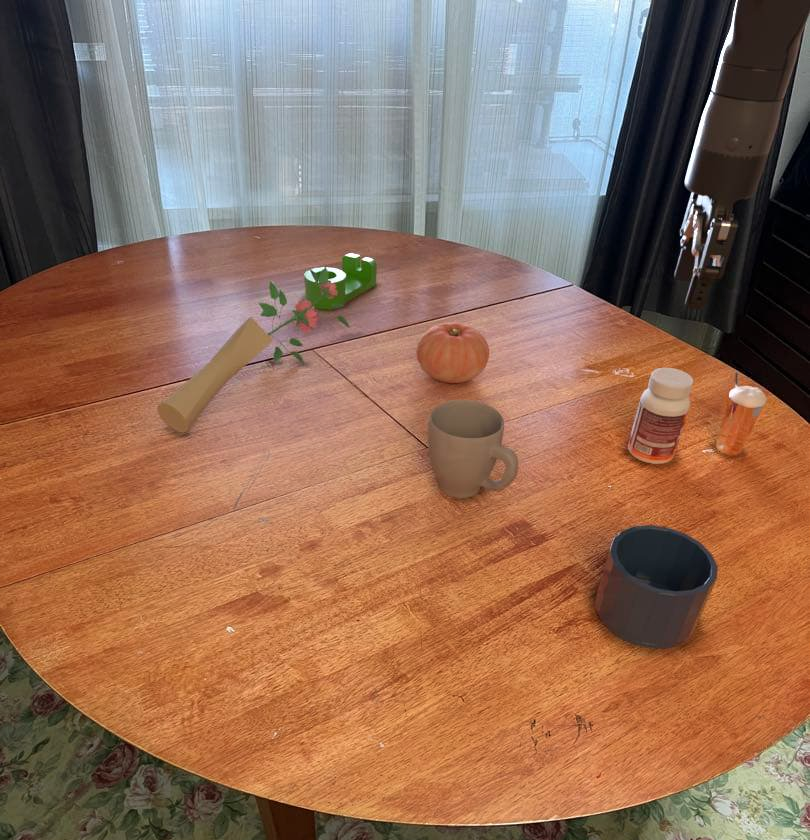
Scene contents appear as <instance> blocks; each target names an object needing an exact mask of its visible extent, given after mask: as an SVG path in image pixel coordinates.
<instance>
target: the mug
mask: <svg viewBox="0 0 810 840" xmlns="http://www.w3.org/2000/svg"><path fill="white" fill-rule="evenodd" d="M427 428H428V429H427V446H428V455H429V461H430V465H431V468H432V472H433V474H434V477H435V478H436V481H437V485H438V488H439V490H440V491H441V492H442V493H443V494H445V495H447V496H449V497H453V498H457V499H467V498H471V497H473V496H476V495H477V494H478V493H479V492H480V491H481V489H482V488H484V489H486V490H492V491H497V492H500V491H502V490H504V489H506V488H507V487H509V485H511V484H512V482H513V481H514V480H515V479H516V478H517V475H518V471H519V458H518V456H517V454H516V452H515V451H514V450H513V449H511V448H510V447H508V446H505V445H503V444H502V442H503V437H504V430H505V419H504V417H503V415H502V414H501V413H500V412H499V411H498V410H497V409H496V408H495V407H493V406H491V405H489V404H486V403H484V402H481V401H477V400H471V399H453V400H448V401H445V402H442V403H439V404H438V405H436V406H435V407H434V408H433V409H432V410H431V412H430V413H429V418H428V427H427ZM497 460H498V461H501V462H503V464H504V465H505V469H504V474H503V475H502V477H501V478H500V480H492V479H490V478H489V477H490V475H491V474H492V471H493V469H494V468H495V465H496V463H497Z"/></svg>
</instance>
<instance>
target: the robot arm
mask: <svg viewBox="0 0 810 840" xmlns="http://www.w3.org/2000/svg"><path fill="white" fill-rule="evenodd" d="M809 17H810V0H736V1H735V6H734V10H733V14H732V20H731V26H730V29H729V32H728V34H727V35H726V36H727V37H726V38H725V42H724V43H723V44H724V45H723V47H722V50H721V53H720V56H719V60H718V65H717V67H716V71H715V75H714V79H713V82H712V86H711V91H710V94H709V96H708V99H707V102H706V104H705V107H704V109H703V112H702V114H701V117H700V122H699V125H698V129H697V133H696V136H695V140H694V144H693V147H692V152H691V156H690V159H689V162H688V166H687V170H686V174H685V178H684V187H685V188H686V189H687V190H688V191H689V192H691V193H690V197H689V200H688V203H687V207H686V211H685V214H684V217H683V221H682V224H681V228H679V237H682V238H681V239H680V247H681V249H680V254H679V256H678V260H677V263H676V267H675V270H674V274H673V275H674V279H675V280H676V281H681V282H690V283H689V286H688V290H687V294H686V297H685V299H684V305H685V308H687V309H689V310H698V311H699V310H700V311H701V310H704V309H705V308H706V305H707V304H708V303H707V302H708V299H709V296H710V294H711V291H712V287H713V283H714V280H715V279H723V277H724V275H725V270H726V267H727V263H728V261H729V257H730V254H731V251H732V247H733V244H734V241H735V237H736V235H737V230H738V229H739V220H736V219H734V214H733V213H732V211H733V205H734V203H736V202H737V201H740V200H744V201H745V200H748V199H750V198H752V197H753V196H754V195H755V194H756V193H757V189H758V187H759V184H760V181H761V177H762V175H763V172H764V169H765V165H766V163H767V159H768V156H769V154H770V150H771V148H772V147H771V146H772V143H773V141H774V139H775V138H774V137H775V134H776V132H777V128H778V124H779V121H780V115H781V110H782V105H783V103H784V98H785V95H786V92H787V89H788V86H789V83H790V80H791V77H792V74H793V71H794V67H795V64H796V61H797V57H798V53H799V49H800V45H801V38H802V34H803V32H804V29H805V27H806V24H807V22H808V19H809ZM710 258H712V265H708V263H709V260H710Z"/></svg>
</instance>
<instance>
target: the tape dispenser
mask: <svg viewBox="0 0 810 840" xmlns="http://www.w3.org/2000/svg"><path fill="white" fill-rule="evenodd" d="M341 262H342V263H341V269H339V268H336V267H329V266H322V267H321V266H320V267H314V268H310V269H307V270H306V271H305V272H304V297H305V298H304V300H306V301H309V302H311V305H313V304H314V303H315V302H316V301H317V300H318V299H319V294H320V297H321V296H322V295H323V294H322V293H321V291H320V289H319V288H320V286H319V285H321V283H320V282H319V281H318V283H317V285H316V282H315V280H314V278H313V276H312V273H311V271H310V270H312V271H314V272H315V273H316V274H317V276H318V279H319V276H320V273H321V271H322V270H323V269H324V268H325V267H326V268H327V271H328V280H330V281H331V283H333V282H334V284H335V285H336V287H337V288H335V290H337V291H338V293H337V296H336V295H332V296H333V297H334V298H331V299H329V297H325V298H324V296H323V297H322V298H321V299H320V300H319V301H318V302H317V303H316V304H315V305H314V306H313V307H314V308H316V309H318V310H333V309H332V305H333V304H343V305H345V304H347V303H348V302H349V301H352V300H353V299H354V298H357V297H358V296H360V295H361V294H363V293H366V292H367V291H368V290H370V289H372V288H373V287H375V286H377V269H378V267H377V266H378V265H377V261H376V260H375V259H373V258H371V257H367V256H365V257H364V258H362V259H361V254H357V253H353V252H350V253H347V254H345V255H343V256H342V258H341ZM317 286H318V288H317ZM318 289H319V290H318Z"/></svg>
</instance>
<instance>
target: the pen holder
mask: <svg viewBox="0 0 810 840" xmlns="http://www.w3.org/2000/svg"><path fill="white" fill-rule="evenodd" d="M718 567H719V566H718V563H717V562H716V560H715V558H714V556H713V554H712V553H711V551H709V549H707V547H705V545H704V544H702V542H700V541H699V540H697V539H695V538H694V537H692V536H690V535H689V534H687V533H685V532H683V531H680V530H676V529H674V528H671V527H668V526H661V525H660V526H659V525H652V524H647V525H646V524H645V525H634V526H631V527H628V528H626V529H624V530H621V531H620V532H619V533H618V534H617V535H616V536H615V537H614V538H613V539H612V541H611V544H610V548H609V550H608V554H607V557H606V560H605V564H604V567H603V571H602V575H601V577H600V581H599V585H598V587H597V593H596V596H595V600H594V606H595V612H596V613H597V616H598V618H599V620H600V622H601V623H602V624H603V625H604V627H606V628H607V629H608V630H609V631H610V632H611V633H612V634H614V635H615V636H616V637H618V638H620V639H621V640H623V641H625V642H627V643H630V644H632V645H635V646H638V647H642V648H647V649H655V650H658V649H660V650H661V649H670V648H674V647H677V646H679V645H682V644H683V643H685V642H686V641H687V640H689V639H690V638H691V636H692V635H693V633H694V631H695V629H696V628H697V625H698V624H699V621H700V619H701V616H702V614H703V612H704V609H705V607H706V605H707V602H708V601H709V598H710V596H711V593H712V590H713V588H714V586H715V584H716V581H717V579H718V570H719V569H718Z"/></svg>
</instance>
